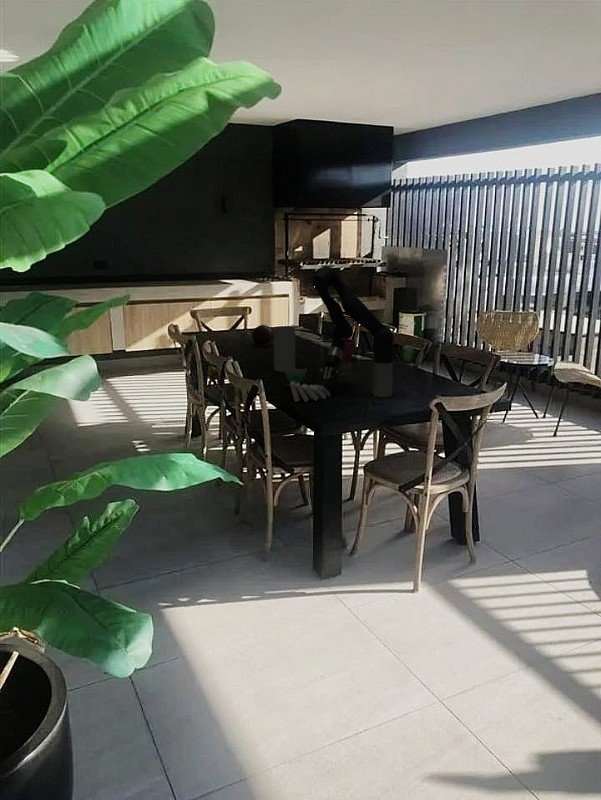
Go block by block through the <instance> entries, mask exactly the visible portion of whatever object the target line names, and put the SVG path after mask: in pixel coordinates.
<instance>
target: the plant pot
mask: <svg viewBox="0 0 601 800" xmlns="http://www.w3.org/2000/svg"><path fill="white" fill-rule="evenodd" d="M341 340H343V341H344V342H345V348H344V351H343V355H342V359H341V362H340V363H348V362H351V361H352V357H353V353H354V348H356V340H355V339H351V338H348V339H341Z"/></svg>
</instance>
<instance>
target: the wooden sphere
mask: <svg viewBox="0 0 601 800" xmlns="http://www.w3.org/2000/svg"><path fill="white" fill-rule="evenodd" d="M251 338H252V340H253V342H254V343H255V344H256V345H257V346H259V347H268V346H270V345H271V344H272V343H273V342H274V335H273V329H272V327H270V326H268V325H266V324H259V325H258V326H256V327H255V328H254V330H253V331H252V337H251Z"/></svg>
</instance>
